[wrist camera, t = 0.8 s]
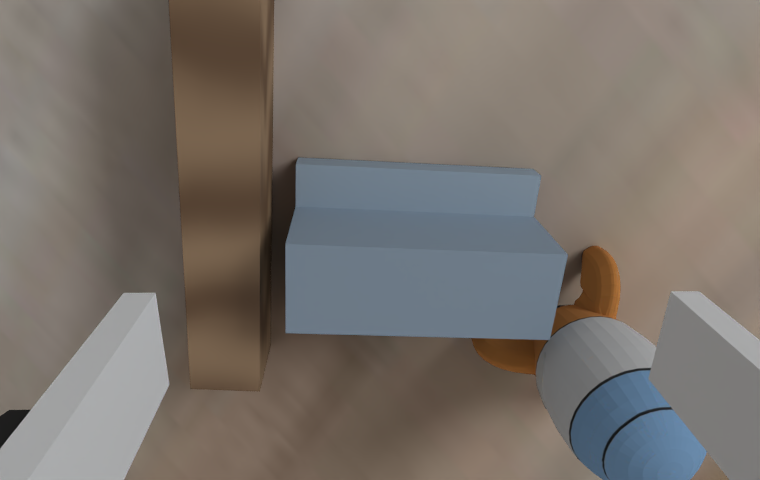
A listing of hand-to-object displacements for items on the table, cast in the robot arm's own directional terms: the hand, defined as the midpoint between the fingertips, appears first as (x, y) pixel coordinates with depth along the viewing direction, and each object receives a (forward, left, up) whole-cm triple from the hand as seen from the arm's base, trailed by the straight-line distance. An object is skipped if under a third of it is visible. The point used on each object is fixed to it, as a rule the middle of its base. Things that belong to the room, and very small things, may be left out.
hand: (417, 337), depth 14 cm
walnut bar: (+1, -8, -20) cm, 21 cm away
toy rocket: (+10, +13, -20) cm, 26 cm away
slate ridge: (+5, +2, -20) cm, 20 cm away
